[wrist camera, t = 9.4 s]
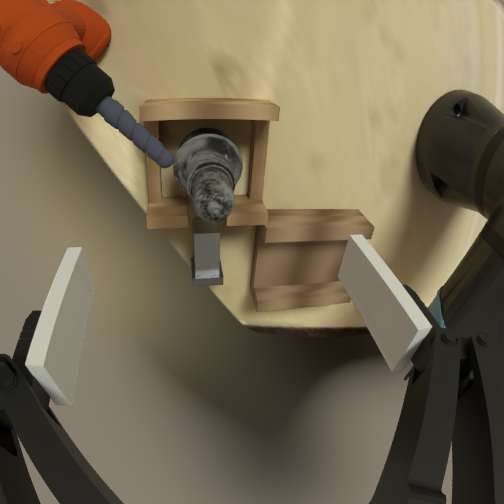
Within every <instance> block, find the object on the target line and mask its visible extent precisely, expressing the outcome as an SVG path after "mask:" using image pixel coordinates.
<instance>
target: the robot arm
mask: <svg viewBox="0 0 504 504" xmlns="http://www.w3.org/2000/svg"><path fill="white" fill-rule="evenodd" d="M416 158H417V167H418V171H419V175H420V178H421V180H422V182H423V184H424V185H425V186H426V188H427V189H428V190H429V191H430V192H432V193H433V194H434V195H435V196H437V197H438V198H439V199H441V200H442V201H444V202H446V203H449V204H453V205H456V206H459V207H463V208H466V209H470V210H473V211H476V212H479V213H480V214H482V215H483V216H484V217H485V218H486V219H488V220H487V222H486V224H485V226H484V227H483V229H482V231H481V232H480V233H479V235H478V237H477V238H476V240H475V241H474V243H473V244H472V246H471V247H470V249H469V250H468V252H467V253H466V255H465V256H464V258H463V259H462V261H461V262H460V264H459V265H458V266H457V268H456V269H455V271H454V272H453V273H452V275H451V276H450V278H449V279H448V280H447V282H446V283H445V284H444V286H442V287H441V288H440V289H439V290H438V292H437V296H436V297H435V298H434V300H433V301H432V303H431V304H430V305H429V307H428V308H427V307H426V306H425V304H424V303H423V302H422V300H420V298H419V296H418V295H417V294H416V292H415V291H414V290H412V289H411V288H410V287H409V286H407V285H402V284H401V283H400V282H399V280H398V279H397V278H396V276H395V275H394V274H393V273H392V271H391V270H390V269H389V267H388V266H387V265H386V264H385V262H384V261H383V260H382V258H381V257H380V256H379V255H378V253H377V252H376V251H375V250H374V248H373V247H372V246H371V245H370V244H369V242H368V241H367V240H366V239H365V237H364V236H363V235H362V234H361V235H349V239H348V242H347V246H346V250H345V253H344V257H343V260H342V263H341V267H340V270H339V273H338V278H339V280H340V281H341V283H342V285H343V286H344V288H345V290H346V291H347V293H348V295H349V297H350V298H351V300H352V302H353V303H354V305H355V307H356V309H357V310H358V312H359V314H360V315H361V317H362V319H363V321H364V322H365V324H366V326H367V328H368V330H369V331H370V333H371V335H372V337H373V338H374V340H375V342H376V344H377V346H378V347H379V349H380V351H381V353H382V355H383V357H384V358H385V360H386V362H387V364H388V366H389V368H390V370H391V371H392V372H393V371H396V370H400V369H403V368H405V367H406V366H407V364H408V363H409V361H410V360H411V361H412V362H413V364H414V365H413V367H412V368H411V370H410V371H409V372H408V374H407V375H406V376H405V378H404V380H407V378H408V377H409V376H410V377H409V381H408V386H407V390H406V394H405V399H404V403H403V407H402V411H401V414H400V418H399V422H398V425H397V429H396V432H395V436H394V439H393V442H392V445H391V449H390V451H389V455H388V457H387V460H386V463H385V466H384V469H383V472H382V475H381V478H380V480H379V483H378V485H377V488H376V490H375V493H374V495H373V498H372V500H371V501H370V503H369V504H446V495H444V494H443V493H442V491H441V488H442V483H443V479H444V475H445V471H446V466H447V462H448V457H449V452H450V446H451V441H452V459H453V460H452V461H453V462H452V463H453V479H452V481H453V483H452V504H504V114H503V113H502V112H501V111H499V110H498V109H497V108H496V107H495V106H494V105H493V104H492V103H490V102H489V101H488V100H487V99H485V98H484V97H482V96H480V95H478V94H475V93H472V92H469V91H466V90H454V91H451V92H448V93H446V94H445V95H443V96H442V97H440V98H439V99H438V100H437V101H436V102H435V103H434V104H433V106H432V107H431V108H430V110H429V111H428V113H427V115H426V117H425V119H424V121H423V123H422V126H421V129H420V132H419V136H418V141H417V152H416ZM94 292H95V291H94V287H93V284H92V281H91V277H90V274H89V271H88V267H87V263H86V260H85V256H84V252H83V249H82V247H74V248H68V249H67V251H66V253H65V255H64V258H63V260H62V262H61V265H60V267H59V269H58V271H57V274H56V276H55V279H54V281H53V284H52V286H51V289H50V291H49V294H48V296H47V299H46V302H45V304H44V307H43V310H42V311H32V313H31V314H30V315H29V316H28V317H27V319H26V321H25V323H24V326H23V329H22V332H21V334H20V339H19V340H18V343H17V346H16V349H15V352H14V355H13V359H11V358H10V356H8V355H6V354H0V504H40V501H39V499H38V496H37V494H36V491H35V489H34V486H33V483H32V481H31V478H30V475H29V472H28V470H27V467H26V463H25V460H24V457H23V454H22V451H21V447H20V444H19V440H18V437H19V439H20V441H21V442H22V445H23V447H24V448H25V450H26V452H27V453H28V455H29V457H30V459H31V460H32V462H33V464H34V466H35V467H36V469H37V470H38V472H39V474H40V475H41V477H42V478H43V480H44V481H45V483H46V484H47V486H48V487H49V489H50V490H51V492H52V493H53V495H54V496H55V497H56V499H57V500H58V502H59V503H60V504H124V503H123V502H122V501H121V500H120V499H119V498H118V497H117V496H116V495H115V494H114V492H113V491H112V490H111V489H110V488H109V487H108V486H107V484H106V483H105V482H104V481H103V480H102V479H101V478H100V476H99V475H98V474H97V473H96V471H95V470H94V469H93V468H92V466H91V465H90V464H89V463H88V462H87V460H86V459H85V458H84V456H83V455H82V454H81V452H80V451H79V449H78V448H77V447H76V445H75V444H74V443H73V441H72V440H71V438H70V437H69V435H68V434H67V433H66V431H65V430H64V428H63V427H62V425H61V424H60V422H59V421H58V419H57V418H56V416H55V414H54V413H53V411H52V410H51V408H50V407H49V401H50V398H51V400H52V401H53V402H54V403H55V404H56V405H62V406H73V399H74V391H75V385H76V378H77V372H78V366H79V361H80V355H81V350H82V345H83V340H84V335H85V330H86V326H87V321H88V317H89V312H90V308H91V304H92V300H93V296H94ZM17 435H18V436H17Z"/></svg>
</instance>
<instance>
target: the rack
mask: <svg viewBox="0 0 504 504" xmlns="http://www.w3.org/2000/svg"><path fill="white" fill-rule="evenodd" d="M267 212H268V221H267V225H257V226H256V237H255V247H254V257H253V268H252V278H251V293H252V297H253V300H254V304H255V308H256V311H257V312H261V311H273V310H284V309H294V308H304V307H314V306H323V305H332V304H340V303H348V302H350V299H351V298H350V297H349V295H348V293H347V291H346V290H345V288H344V286H343V285H342V283H341V281H340V280H339V278H338V273H339V270H340V267H341V263H342V260H343V257H344V253H345V250H346V246H347V242H348V239H349V235H361V234H362V235H363V236H364V237H365V239H371V237H372V234H373V231H374V228H375V227H374V226H373V225H372V224H371V223H370V222H369V221H368V220H367V218H366V217H365V216H364V215H363V214H362V213H361V212H360V211H359V210H345V209H274V210H267Z"/></svg>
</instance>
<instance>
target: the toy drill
mask: <svg viewBox="0 0 504 504" xmlns="http://www.w3.org/2000/svg"><path fill="white" fill-rule="evenodd" d="M110 38H111V29H110V26H109V24H108V23H107V22H106V20H105V19H103V18H102V17H101V16H100V15H99V14H98V13H96V12H95V11H94V10H92V9H91V8H89V7H88V6H86V5H84V4H83V3H81V2H78V1H75V0H61V1H57V2H55V3H53V4H51V5H50V4H49V3H48V2H47V1H46V0H0V66H1V67H2V68H3V69H4V70H5V71H6V72H7V73H9V74H10V75H11V76H12V77H13V78H14V79H15V80H17V81H18V82H19V83H20V84H23V85H26V86H29V87H32V88H35V89H37V90H39V91H40V92H41V93H50V94H51V95H52V96H53V97H54V98H55V99H57V100H58V101H60V102H64V103H65V104H66V105H68V106H69V107H70V108H71V109H72V110H73V111H74V112H75V113H77V114H78V115H82V116H87V117H92V116H93V115H95V114H96V113H97V112H98V113H99V114H100V115H101V116H102V117H103V118H104V120H105V121H106V122H107V123H108V124H110V125H111V126H113V127H114V128H116V129H118V130H119V132H121V133H122V134H123V135H124V136H125V137H127V138H128V139H129V140H131V141H133V143H134V145H136V146H137V147H138V148H139V149H140V150H142V151H143V152H144V153H147V156H148V157H149V158H151V159H152V160H153V161H155V162H156V163H157V164H158V165H159V166H160V167H162V168H168V167H170V166H171V165H172V164H173V162H174V159H175V158H174V155H173V153H172V152H171V151H169V150H166V149H165V148H164V146H163V144H162V143H161V142H160V141H159V140H158V139H157V138H156V137H154V136H153V135H150V133H149V132H148V131H147V130H146V129H145V128H144V127H143V126H142V125H141V124H140V123H136V120H135V119H134V117H133V116H132V115H131V114H130V113H129V112H128V111H127V110H124V107H123V106H122V105H121V104H120V103H119V102H118V101H117V100H115V101H114V100H113V99H112V98H111V97H112V95H113V93H114V91H115V89H114V86H113V82H112V79H111V78H110V77H109V76H108V75H107V74H106V73H105V72H104V71H102V70H101V69H100V68H99V67H98V66H97V64H96V62H95V61H94V60H95V59H96V58H98V57H99V56H100V55H101V54H102V53H103V51H104V50H105V49H106V47H107V45H108V43H109V41H110Z"/></svg>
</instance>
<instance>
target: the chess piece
mask: <svg viewBox="0 0 504 504" xmlns="http://www.w3.org/2000/svg"><path fill="white" fill-rule="evenodd" d="M242 169H243V167H242V158H241V154H240V152H239V150H238V149H237V147H236V146H235V144H233V143H232V142H231V141H230V140H229V138H228V137H227V136H226V135H225V134H223V133H222V132H220V131H218V130H216V129H211V128H203V129H198V130H195V131H193V132H192V133H190V134H189V135H187V136H186V137H185V138H184V140H183V141H182V143H181V145H180V147H179V150H178V152H177V154H176V156H175V159H174V164H173V171H174V177H175V179H176V181H177V183H178V185H179V186H180V187H181V188H182V190H184V191H185V192H187V193H188V194H189V196H190V197H191V199H192V202H193V207H194V210H195V212H196V213H197V215H198V216H199V217H200V218H202V219H203V220H206V221H209V222H218V221H221V220H224V219H225V218H227V217H228V216H229V215H230V214H231V212H232V211H233V208H234V204H235V196H234V193H233V192H234V188H235V185H236V184H237V182H238V180H239V178H240V176H241V173H242Z"/></svg>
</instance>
